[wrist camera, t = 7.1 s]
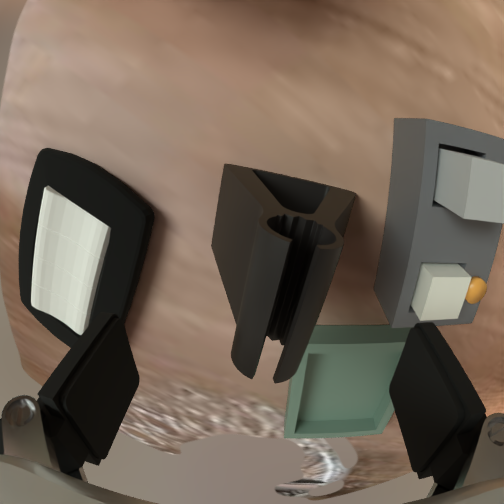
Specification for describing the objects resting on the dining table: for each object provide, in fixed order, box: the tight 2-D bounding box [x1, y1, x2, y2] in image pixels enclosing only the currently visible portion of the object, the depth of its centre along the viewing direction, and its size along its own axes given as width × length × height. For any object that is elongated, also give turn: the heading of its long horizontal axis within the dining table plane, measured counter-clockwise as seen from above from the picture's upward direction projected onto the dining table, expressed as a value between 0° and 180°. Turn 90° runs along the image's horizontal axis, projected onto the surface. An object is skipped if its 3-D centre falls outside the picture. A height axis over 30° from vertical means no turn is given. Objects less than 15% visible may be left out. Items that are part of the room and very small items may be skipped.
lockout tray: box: [284, 325, 413, 438], centre depth 26 cm, size 11×14×2 cm
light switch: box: [19, 148, 154, 348], centre depth 24 cm, size 20×3×14 cm
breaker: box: [433, 148, 504, 223], centre depth 13 cm, size 3×3×4 cm
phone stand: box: [211, 164, 356, 383], centre depth 16 cm, size 9×6×12 cm, turn 79°
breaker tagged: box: [411, 262, 472, 321], centre depth 17 cm, size 3×3×4 cm
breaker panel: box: [374, 118, 504, 328], centre depth 17 cm, size 7×13×6 cm, turn 0°
